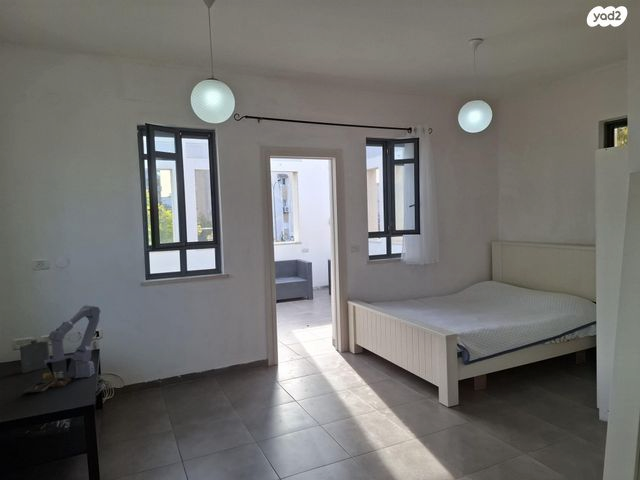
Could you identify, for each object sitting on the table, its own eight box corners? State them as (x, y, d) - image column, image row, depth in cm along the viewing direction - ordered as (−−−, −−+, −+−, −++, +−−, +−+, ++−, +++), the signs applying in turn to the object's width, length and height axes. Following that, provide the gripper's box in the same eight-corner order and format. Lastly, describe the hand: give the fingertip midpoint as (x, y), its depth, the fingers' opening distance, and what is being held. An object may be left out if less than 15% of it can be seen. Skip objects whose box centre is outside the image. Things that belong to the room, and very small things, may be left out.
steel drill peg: (64, 382, 256) (63, 370, 255) (63, 384, 252) (62, 372, 252) (58, 383, 254) (57, 371, 254) (56, 385, 251) (55, 373, 251)
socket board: (54, 383, 255) (54, 381, 255) (43, 392, 243) (43, 389, 243) (39, 385, 255) (39, 382, 254) (26, 393, 243) (26, 390, 242)
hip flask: (22, 373, 277) (19, 343, 276) (21, 371, 280) (18, 342, 279) (50, 366, 288) (48, 337, 287) (49, 365, 291) (47, 336, 290)
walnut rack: (71, 381, 258) (70, 378, 258) (64, 386, 250) (63, 383, 250) (57, 382, 257) (57, 379, 257) (50, 387, 249) (49, 384, 249)
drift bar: (43, 379, 258) (43, 373, 258) (57, 378, 259) (56, 372, 259) (23, 392, 238) (22, 386, 238) (37, 391, 239) (37, 384, 239)
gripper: (71, 346, 260) (73, 368, 261) (43, 351, 251) (45, 374, 252) (72, 349, 254) (74, 371, 255) (43, 354, 246) (45, 377, 246)
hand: (60, 372), depth 253 cm, fingers open, 7 cm apart
